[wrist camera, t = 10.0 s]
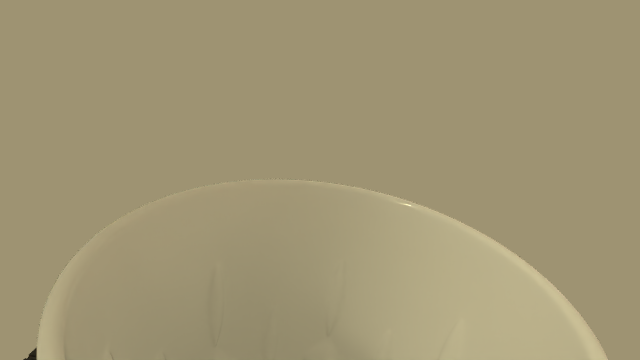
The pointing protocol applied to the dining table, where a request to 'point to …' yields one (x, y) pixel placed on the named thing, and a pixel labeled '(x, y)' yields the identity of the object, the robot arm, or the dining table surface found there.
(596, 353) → the white cup
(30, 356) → the robot arm
